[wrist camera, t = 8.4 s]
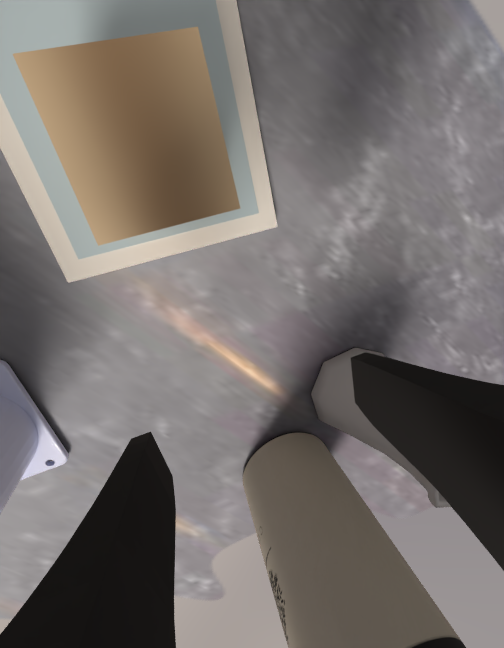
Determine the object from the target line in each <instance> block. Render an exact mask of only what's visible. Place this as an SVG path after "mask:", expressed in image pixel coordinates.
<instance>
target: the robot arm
mask: <svg viewBox="0 0 504 648" xmlns="http://www.w3.org/2000/svg"><path fill="white" fill-rule="evenodd" d="M351 368H352V378H353V388H354V398H355V403H356V405H357V406H358V407H359V409H360V410H361V411H362V413H363V414H364V415H365V416H366V418H367V419H368V420H369V421H370V423H371V424H372V425H373V426H374V427H375V428H376V429H377V430H378V431H379V432H380V433H381V434H382V435H383V436H384V437H385V438H386V439H387V440H388V441H389V442H390V443H391V444H392V445H393V446H394V447H395V448H396V449H397V450H398V451H399V452H400V453H401V454H402V455H403V456H404V457H405V458H406V459H407V460H408V461H409V462H410V463H411V464H412V465H413V466H414V467H415V468H416V469H417V470H418V471H419V472H420V473H421V474H422V475H423V476H424V477H425V478H426V479H427V480H428V481H429V482H430V483H431V484H432V485H433V486H434V487H435V488H436V489H437V491H438V492H439V493H440V494H441V495H442V496H443V497H444V499H445V500H446V501H447V502H448V503H449V505H450V506H451V507H452V508H453V509H454V510H455V511H456V513H457V514H458V515H459V516H460V517H461V519H462V520H463V521H464V522H465V523H466V525H467V526H468V527H469V528H470V529H471V531H472V532H473V533H474V534H475V536H476V537H477V538H478V539H479V540H480V542H481V543H482V544H483V545H484V547H485V548H486V549H487V550H488V551H489V553H490V554H491V555H492V556H493V558H494V559H495V560H496V561H497V563H498V564H499V565H500V566H501V568H502V569H503V570H504V385H499V384H493V383H488V382H482V381H477V380H473V379H468V378H464V377H459V376H455V375H451V374H446V373H442V372H438V371H435V370H431V369H427V368H423V367H419V366H416V365H412V364H409V363H405V362H401V361H398V360H394V359H391V358H387V357H383V356H379V355H375V354H371V353H366V352H365V353H362V354H359V355H357V356H354V357H351ZM68 457H69V454H68V452H67V451H66V449H65V448H64V446H63V445H62V443H61V442H60V440H59V439H58V437H57V436H56V434H55V433H54V431H53V430H52V428H51V427H50V425H49V424H48V422H47V421H46V419H45V418H44V416H43V415H42V413H41V412H40V411H39V409H38V408H37V406H36V405H35V403H34V402H33V400H32V399H31V397H30V396H29V394H28V393H27V391H26V390H25V388H24V387H23V385H22V384H21V382H20V381H19V379H18V378H17V376H16V375H15V373H14V372H13V370H12V369H11V367H10V366H9V364H8V363H7V362H5V361H3V360H0V513H1V512H2V510H3V508H4V507H5V505H6V503H7V502H8V500H9V498H10V496H11V495H12V493H13V491H14V490H15V488H16V486H17V485H18V483H19V481H20V480H22V479H25V478H28V477H30V476H33V475H36V474H38V473H41V472H44V471H47V470H49V469H52V468H55V467H57V466H60V465H63V464H64V463H66V461H67V459H68ZM49 460H53V461H49ZM175 518H176V508H175V496H174V486H173V477H172V474H171V472H170V470H169V468H168V466H167V464H166V462H165V460H164V458H163V456H162V454H161V452H160V450H159V448H158V445H157V443H156V441H155V439H154V437H153V435H152V433H151V432H148V433H146V434H143V435H140V436H138V437H135V438H132V439H131V440H130V442H129V444H128V445H127V447H126V449H125V451H124V452H123V454H122V456H121V457H120V459H119V461H118V463H117V464H116V466H115V468H114V470H113V471H112V473H111V475H110V477H109V478H108V480H107V482H106V483H105V485H104V487H103V488H102V490H101V492H100V494H99V495H98V497H97V499H96V500H95V502H94V504H93V505H92V507H91V508H90V510H89V511H88V513H87V515H86V516H85V518H84V519H83V521H82V522H81V524H80V525H79V527H78V528H77V530H76V532H75V533H74V535H73V536H72V538H71V539H70V541H69V542H68V544H67V545H66V547H65V548H64V550H63V551H62V553H61V554H60V556H59V557H58V559H57V560H56V561H55V563H54V564H53V566H52V567H51V568H50V570H49V571H48V573H47V574H46V575H45V577H44V578H43V579H42V581H41V582H40V584H39V585H38V586H37V588H36V589H35V590H34V592H33V593H32V594H31V596H30V597H29V599H28V600H27V601H26V603H25V604H24V605H23V606H22V608H21V609H20V610H19V612H18V613H17V614H16V616H15V617H14V618H13V619H12V621H11V622H10V623H9V624H8V626H7V627H6V628H5V629H4V631H3V632H2V633H1V634H0V648H176V642H175V626H174V569H175Z"/></svg>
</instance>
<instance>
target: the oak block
mask: <svg viewBox="0 0 504 648" xmlns="http://www.w3.org/2000/svg"><path fill="white" fill-rule="evenodd" d="M13 56H14V59H15V61H16V63H17V65H18V68H19V70H20V72H21V74H22V77H23V79H24V81H25V83H26V85H27V88H28V90H29V92H30V94H31V97H32V99H33V101H34V103H35V106H36V108H37V110H38V112H39V115H40V117H41V119H42V121H43V124H44V126H45V128H46V130H47V132H48V135H49V137H50V139H51V141H52V144H53V146H54V148H55V150H56V153H57V155H58V157H59V159H60V162H61V164H62V166H63V168H64V170H65V173H66V175H67V177H68V179H69V182H70V184H71V186H72V188H73V191H74V193H75V195H76V197H77V200H78V202H79V204H80V206H81V209H82V211H83V213H84V215H85V217H86V220H87V222H88V224H89V226H90V229H91V231H92V233H93V235H94V238H95V240H96V242H97V244H98V246H99V245H103V244H107V243H111V242H114V241H118V240H122V239H126V238H130V237H134V236H137V235H141V234H145V233H149V232H153V231H156V230H160V229H164V228H168V227H172V226H175V225H179V224H183V223H187V222H191V221H195V220H198V219H202V218H206V217H210V216H214V215H217V214H221V213H225V212H229V211H233V210H237V209H240V204H239V199H238V195H237V191H236V187H235V182H234V178H233V174H232V170H231V165H230V161H229V157H228V153H227V148H226V144H225V140H224V136H223V131H222V127H221V123H220V119H219V114H218V110H217V106H216V102H215V97H214V93H213V89H212V85H211V80H210V76H209V72H208V68H207V63H206V59H205V55H204V51H203V46H202V42H201V38H200V34H199V29H198V27H192V28H185V29H178V30H171V31H164V32H158V33H151V34H144V35H137V36H130V37H123V38H117V39H110V40H103V41H96V42H89V43H82V44H76V45H69V46H62V47H55V48H48V49H42V50H35V51H28V52H21V53H14V54H13Z"/></svg>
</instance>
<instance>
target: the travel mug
mask: <svg viewBox="0 0 504 648" xmlns="http://www.w3.org/2000/svg"><path fill="white" fill-rule="evenodd" d="M243 486H244V490H245V493H246V497H247V501H248V504H249V508H250V511H251V515H252V519H253V522H254V526H255V529H256V533H257V537H258V540H259V544H260V547H261V551H262V555H263V558H264V562H265V565H266V569H267V573H268V576H269V580H270V583H271V587H272V591H273V594H274V598H275V601H276V605H277V609H278V612H279V616H280V619H281V623H282V627H283V630H284V634H285V637H286V641H287V644H288V647H289V648H466V647H465V645H464V644H463V643H462V641H461V640H460V638H459V637H458V635H457V634H456V633H455V631H454V630H453V628H452V627H451V625H450V624H449V622H448V621H447V620H446V618H445V617H444V615H443V614H442V612H441V611H440V610H439V608H438V607H437V605H436V604H435V602H434V601H433V599H432V598H431V597H430V595H429V594H428V592H427V591H426V589H425V588H424V587H423V585H422V584H421V582H420V581H419V579H418V578H417V577H416V575H415V574H414V573H413V571H412V569H411V568H410V566H409V565H408V564H407V562H406V561H405V560H404V558H403V556H402V555H401V554H400V552H399V551H398V549H397V548H396V547H395V545H394V544H393V542H392V541H391V539H390V538H389V537H388V535H387V534H386V532H385V531H384V529H383V528H382V527H381V525H380V524H379V522H378V521H377V519H376V518H375V516H374V515H373V513H372V512H371V511H370V509H369V508H368V506H367V505H366V503H365V502H364V501H363V499H362V498H361V496H360V495H359V493H358V492H357V490H356V489H355V488H354V486H353V485H352V483H351V482H350V480H349V479H348V478H347V476H346V475H345V473H344V472H343V470H342V469H341V468H340V466H339V465H338V463H337V462H336V460H335V459H334V457H333V456H332V455H331V453H330V452H329V450H328V449H327V447H326V446H325V445H324V443H323V442H322V441H321V440H320V439H319V438H317V437H316V436H314V435H311V434H307V433H290V434H286V435H282V436H280V437H277V438H275V439H273V440H271V441H269V442H268V443H266V444H265V445H263V446H262V447H261V448H260V449H259V450H258V451H257V452H256V453H255V454H254V455H253V456H252V457H251V459H250V460H249V462H248V464H247V466H246V468H245V471H244V474H243Z"/></svg>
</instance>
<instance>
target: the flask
mask: <svg viewBox="0 0 504 648" xmlns="http://www.w3.org/2000/svg"><path fill="white" fill-rule="evenodd" d="M365 352H366V353H371V354H375V355H379V356H383V357H385V356H384V355H383V353H379V352H374V351H370V350H365V349H360V348H353V349H351V350H349V351H347V352H344V353H342V354H340V355H338V356H336V357H334V358H332V359H330V360H328V361H325V362H323V365H322V367H321V370H320V372H319V375H318V377H317V380H316V383H315V385H314V388H313V390H312V393H311V396H312V399H313V402H314V405H315V408H316V412H317V415H318V418H319V420H321V421H323V422H325V423H326V424H328V425H330V426H332V427H335V428H337V429H339V430H341V431H343V432H345V433H347V434H349V435H351V436H353V437H355V438H357V439H358V440H360V441H362V442H364V443H366V444H368V445H369V446H371V447H373V448H375V449H377V450H379V451H381V452H382V453H384V454H386V455H387V456H388V457H390V458H391V459H392V460H394V461H395V462H396V463H398V464H399V465H400V466H402V467H403V468H404V469H406V470H407V471H408V472H410V473H411V474H412V475H413V477H414V478H415V479H416V480H417V481H418V482H419V483H420V484H421V485H422V486H423V487H424V488H425V489H426V490H427V492H428V498H429V500H430V502H431V503H432V504H433V505H434V506H435V507H436V508H437V507H451V506H450V505H449V503H448V502H447V501H446V500H445V499H444V497H443V496H442V495H441V494H440V493H439V492H438V491H437V489H436V488H435V487H434V486H433V485H432V484H431V483H430V482H429V481H428V480H427V479H426V478H425V477H424V476H423V475H422V474H421V473H420V472H419V471H418V470H417V469H416V468H415V467H414V466H413V465H412V464H411V463H410V462H409V461H408V460H407V459H406V458H405V457H404V456H403V455H402V454H401V453H400V452H399V451H398V450H397V449H396V448H395V447H394V446H393V445H392V444H391V443H390V442H389V441H388V440H387V439H386V438H385V437H384V436H383V435H382V434H381V433H380V432H379V431H378V430H377V429H376V428H375V427H374V426H373V425H372V424H371V423H370V421H369V420H368V419H367V418H366V416H365V415H364V414H363V413H362V411H361V410H360V409H359V407H358V406H357V405H356V403H355V398H354V388H353V378H352V368H351V357H354V356H357V355H359V354H362V353H365Z"/></svg>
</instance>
